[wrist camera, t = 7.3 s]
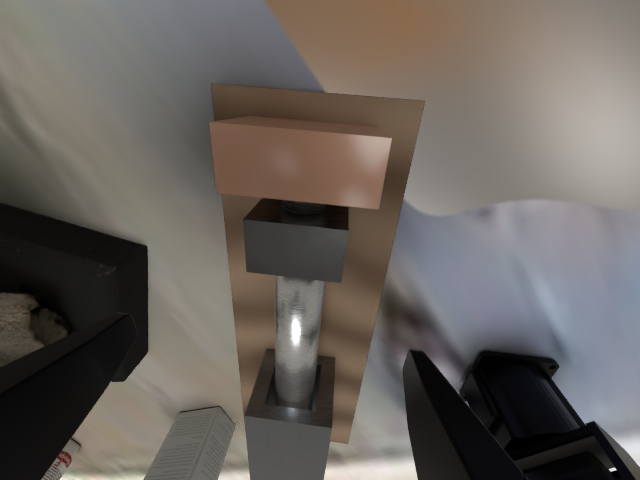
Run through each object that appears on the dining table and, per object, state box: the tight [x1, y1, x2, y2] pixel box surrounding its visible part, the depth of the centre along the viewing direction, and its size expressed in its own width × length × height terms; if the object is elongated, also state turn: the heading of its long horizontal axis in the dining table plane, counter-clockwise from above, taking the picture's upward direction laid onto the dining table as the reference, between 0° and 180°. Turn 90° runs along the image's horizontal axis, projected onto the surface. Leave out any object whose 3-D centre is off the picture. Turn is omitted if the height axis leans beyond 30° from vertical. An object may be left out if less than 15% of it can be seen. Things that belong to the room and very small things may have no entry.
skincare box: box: [144, 407, 235, 480], centre depth 28 cm, size 6×4×12 cm
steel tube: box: [243, 198, 349, 411], centre depth 19 cm, size 21×5×5 cm, turn 176°
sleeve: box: [244, 348, 336, 480], centre depth 25 cm, size 12×6×6 cm, turn 176°
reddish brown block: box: [209, 116, 392, 210], centre depth 14 cm, size 3×7×6 cm, turn 86°
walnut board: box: [211, 83, 425, 444], centre depth 23 cm, size 35×12×1 cm, turn 176°
